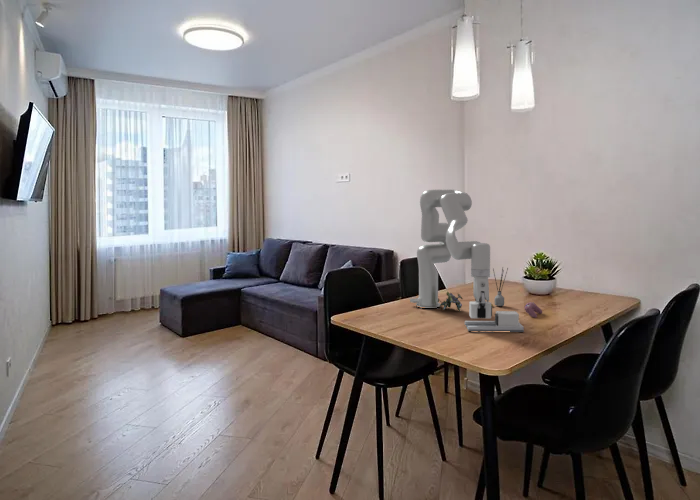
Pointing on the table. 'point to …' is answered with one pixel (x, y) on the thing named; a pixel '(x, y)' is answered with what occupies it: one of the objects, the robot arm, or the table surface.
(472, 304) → the block
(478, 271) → the robot arm
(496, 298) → the reed diffuser
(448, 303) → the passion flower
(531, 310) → the video game controller
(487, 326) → the rail dock
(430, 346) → the table surface
